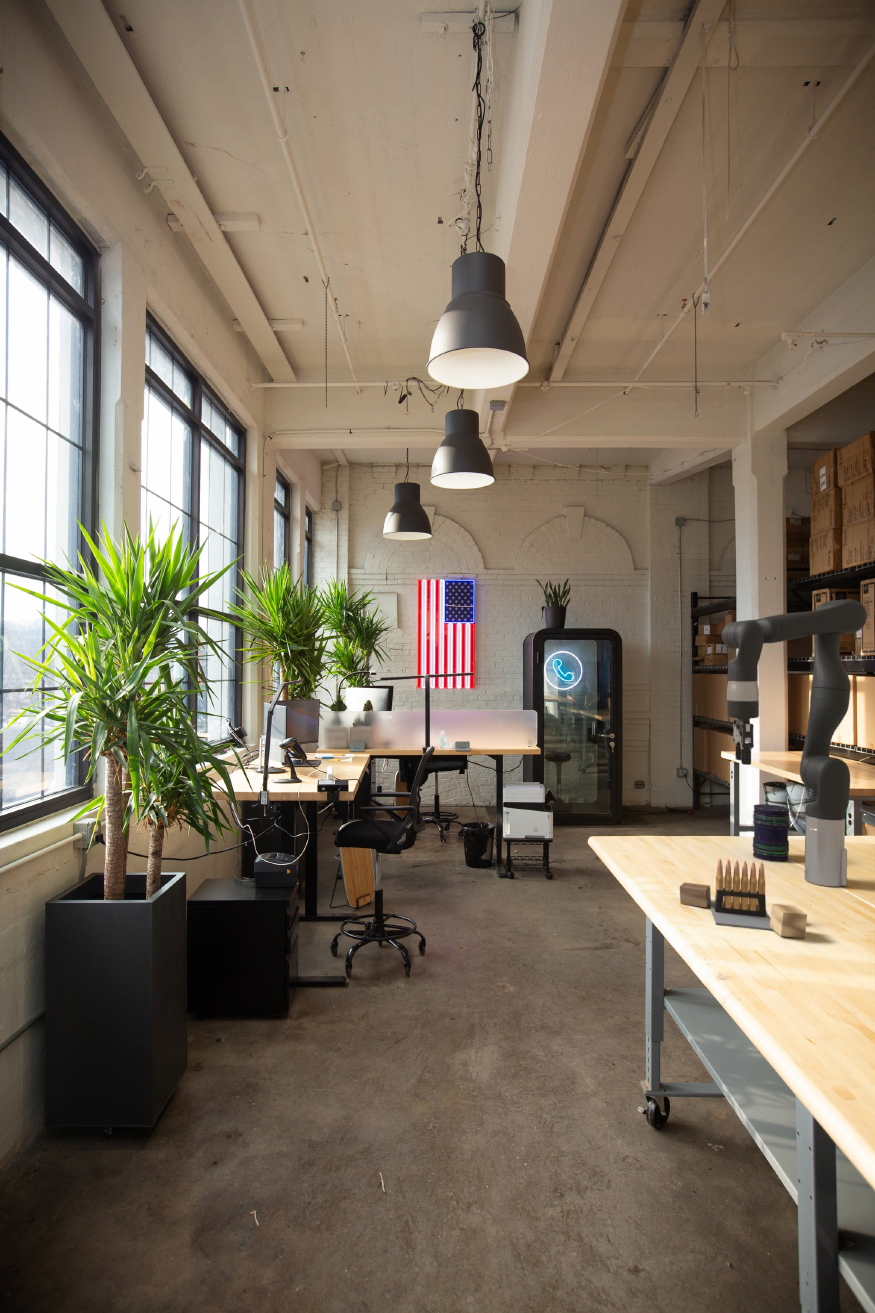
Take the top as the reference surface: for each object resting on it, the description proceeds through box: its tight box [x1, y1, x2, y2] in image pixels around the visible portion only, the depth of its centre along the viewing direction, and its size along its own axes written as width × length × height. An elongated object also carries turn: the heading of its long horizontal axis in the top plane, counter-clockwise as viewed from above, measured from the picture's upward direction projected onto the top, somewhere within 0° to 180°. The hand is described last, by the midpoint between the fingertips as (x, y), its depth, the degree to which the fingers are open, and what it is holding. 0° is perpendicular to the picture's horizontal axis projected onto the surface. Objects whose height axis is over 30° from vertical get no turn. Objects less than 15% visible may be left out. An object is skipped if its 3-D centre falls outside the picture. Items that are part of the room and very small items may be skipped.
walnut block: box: [679, 881, 712, 908], centre depth 167 cm, size 4×6×4 cm, turn 56°
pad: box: [708, 899, 774, 932], centre depth 160 cm, size 12×16×1 cm
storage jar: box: [752, 803, 791, 863], centre depth 211 cm, size 10×10×15 cm
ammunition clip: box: [714, 858, 767, 917], centre depth 160 cm, size 11×2×12 cm, turn 75°
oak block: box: [770, 903, 808, 939], centre depth 150 cm, size 5×5×5 cm
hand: (743, 762), depth 181 cm, fingers open, 8 cm apart
